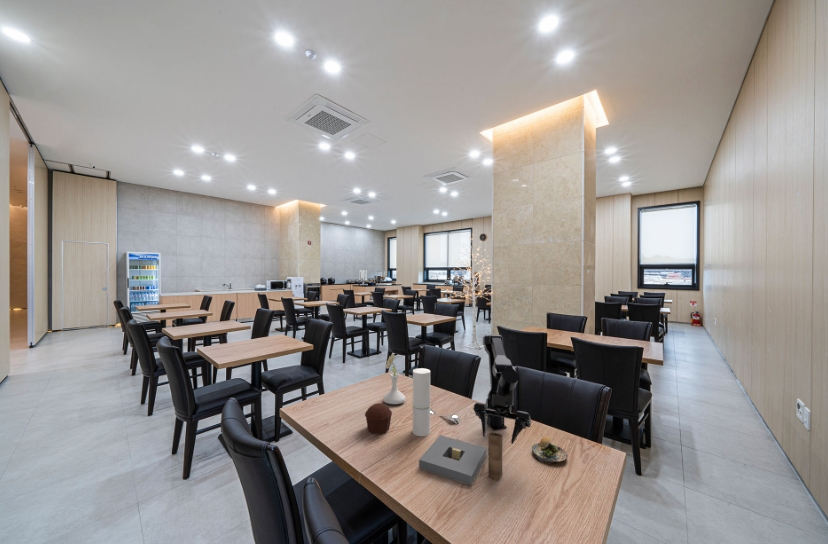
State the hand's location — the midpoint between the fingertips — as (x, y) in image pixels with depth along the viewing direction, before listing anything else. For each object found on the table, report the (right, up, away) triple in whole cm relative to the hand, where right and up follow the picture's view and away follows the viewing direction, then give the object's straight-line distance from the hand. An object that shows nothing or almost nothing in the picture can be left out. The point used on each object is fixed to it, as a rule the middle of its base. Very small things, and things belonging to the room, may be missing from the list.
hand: (497, 439), depth 104 cm
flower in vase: (-38, -10, +54) cm, 67 cm away
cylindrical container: (-25, -10, +25) cm, 37 cm away
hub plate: (-14, -10, +4) cm, 18 cm away
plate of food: (+21, -11, +9) cm, 25 cm away
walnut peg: (-2, -10, -3) cm, 11 cm away
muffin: (-42, -10, +27) cm, 51 cm away
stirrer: (-15, -11, +39) cm, 43 cm away
